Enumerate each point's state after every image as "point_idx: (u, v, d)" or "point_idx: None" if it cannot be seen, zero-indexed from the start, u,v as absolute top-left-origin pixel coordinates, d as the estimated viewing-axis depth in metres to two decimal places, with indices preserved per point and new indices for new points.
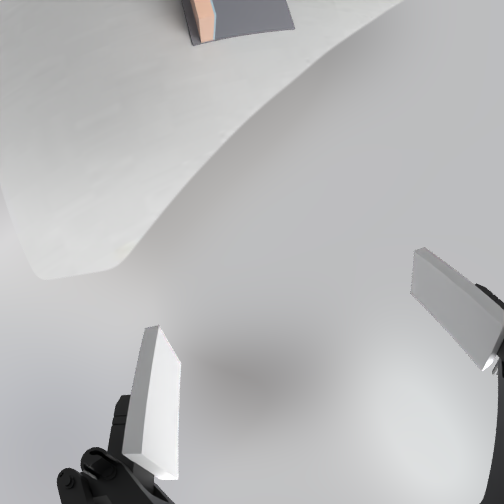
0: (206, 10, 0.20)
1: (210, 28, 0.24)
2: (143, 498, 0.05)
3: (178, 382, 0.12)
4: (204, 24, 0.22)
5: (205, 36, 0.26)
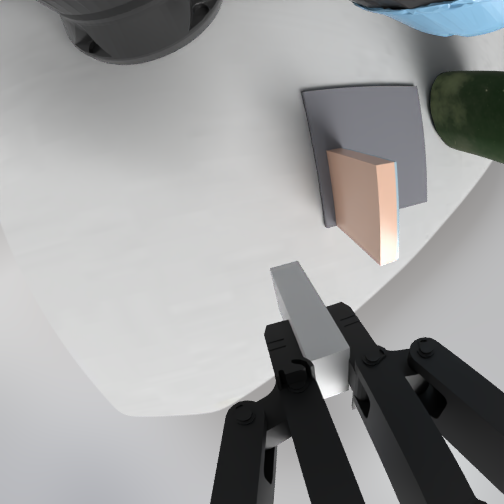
0: (390, 252, 0.20)
1: None
2: (326, 420, 0.07)
3: None
4: None
5: None
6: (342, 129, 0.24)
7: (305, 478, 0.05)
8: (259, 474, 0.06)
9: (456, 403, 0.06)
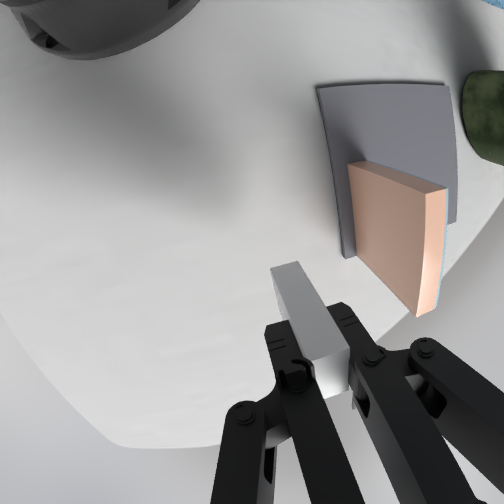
0: (429, 301, 0.15)
1: None
2: (326, 420, 0.07)
3: None
4: None
5: None
6: (367, 137, 0.19)
7: (305, 478, 0.05)
8: (259, 474, 0.06)
9: (456, 403, 0.06)
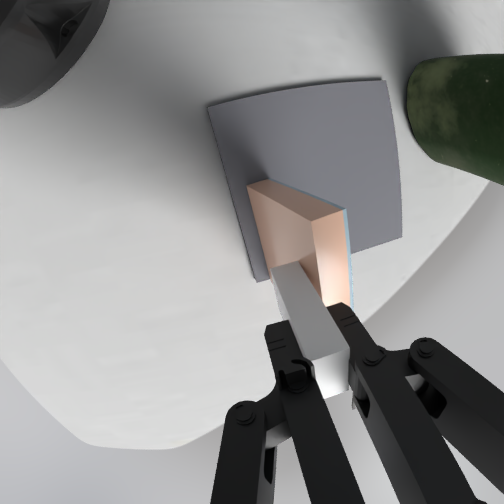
0: None
1: None
2: (326, 420, 0.07)
3: None
4: None
5: None
6: (268, 152, 0.19)
7: (305, 478, 0.05)
8: (259, 474, 0.06)
9: (456, 403, 0.06)
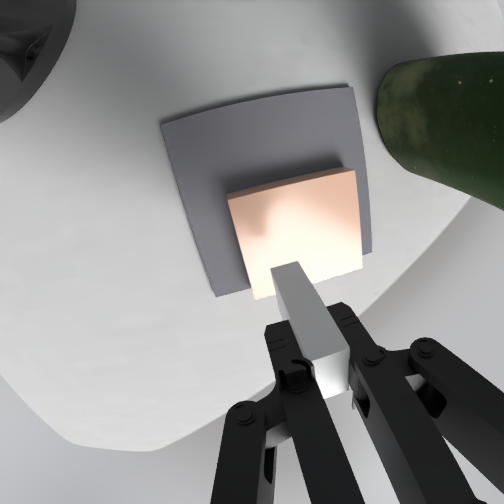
0: None
1: None
2: (326, 420, 0.07)
3: None
4: None
5: None
6: (221, 168, 0.18)
7: (305, 478, 0.05)
8: (259, 474, 0.06)
9: (456, 403, 0.06)
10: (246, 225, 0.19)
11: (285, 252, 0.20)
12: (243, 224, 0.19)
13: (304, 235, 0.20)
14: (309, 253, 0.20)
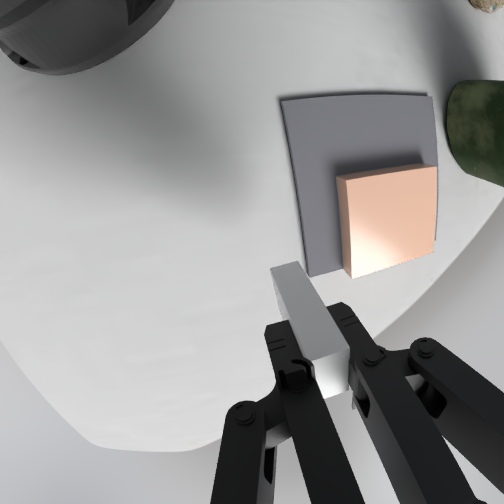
0: None
1: None
2: (326, 420, 0.07)
3: None
4: None
5: None
6: (334, 152, 0.19)
7: (305, 478, 0.05)
8: (259, 474, 0.06)
9: (456, 403, 0.06)
10: (357, 205, 0.19)
11: (383, 233, 0.20)
12: (355, 204, 0.19)
13: (398, 219, 0.20)
14: (399, 235, 0.21)
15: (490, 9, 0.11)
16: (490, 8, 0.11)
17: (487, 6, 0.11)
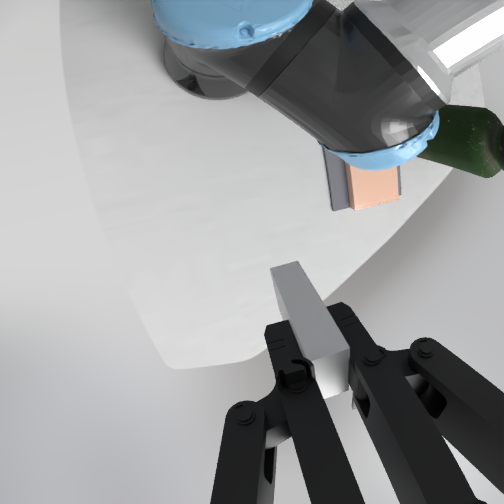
0: None
1: None
2: (326, 419, 0.07)
3: None
4: None
5: None
6: None
7: (305, 478, 0.05)
8: (259, 474, 0.06)
9: (456, 403, 0.06)
10: (355, 173, 0.40)
11: (368, 187, 0.41)
12: (354, 172, 0.40)
13: (376, 180, 0.41)
14: (377, 189, 0.41)
15: None
16: None
17: None
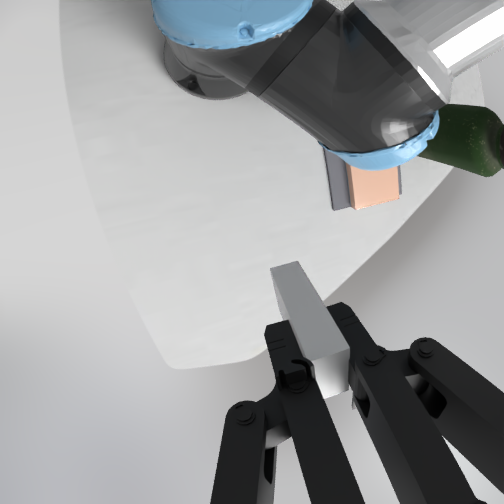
0: None
1: None
2: (326, 420, 0.07)
3: None
4: None
5: None
6: None
7: (305, 478, 0.05)
8: (259, 474, 0.06)
9: (456, 403, 0.06)
10: (355, 172, 0.40)
11: (369, 186, 0.41)
12: (354, 172, 0.40)
13: (376, 179, 0.41)
14: (378, 188, 0.41)
15: None
16: None
17: None
